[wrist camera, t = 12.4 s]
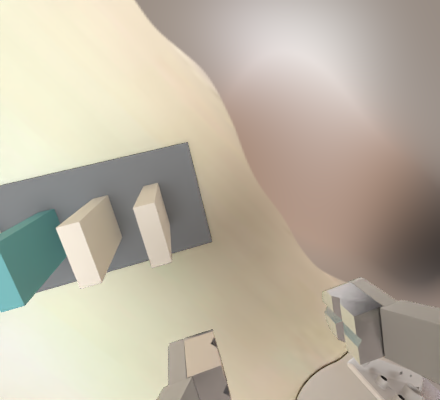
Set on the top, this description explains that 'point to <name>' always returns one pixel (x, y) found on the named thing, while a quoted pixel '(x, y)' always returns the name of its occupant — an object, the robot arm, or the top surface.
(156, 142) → the top surface
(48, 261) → the teal domino
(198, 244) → the slate mat
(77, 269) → the ivory domino
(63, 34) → the top surface
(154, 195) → the ivory domino
